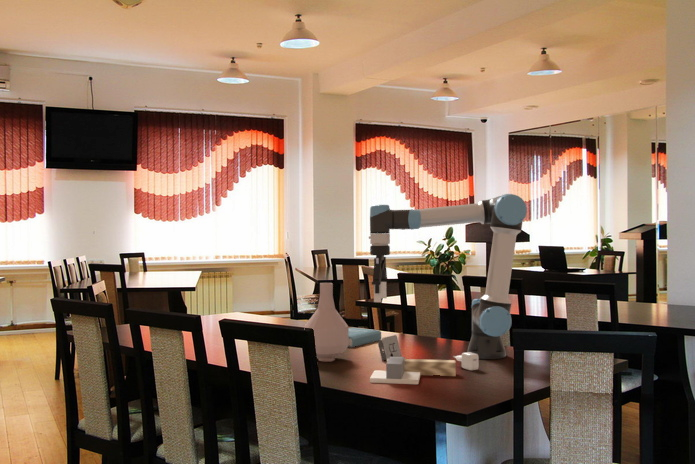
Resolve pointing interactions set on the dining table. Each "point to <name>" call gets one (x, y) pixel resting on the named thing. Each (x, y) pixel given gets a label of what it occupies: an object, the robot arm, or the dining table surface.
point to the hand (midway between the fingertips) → (380, 300)
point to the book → (362, 336)
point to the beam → (431, 367)
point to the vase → (328, 326)
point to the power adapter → (468, 360)
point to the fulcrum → (395, 373)
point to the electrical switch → (389, 347)
